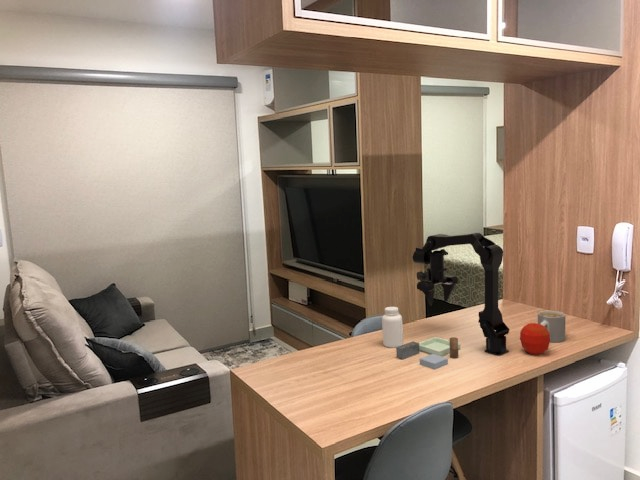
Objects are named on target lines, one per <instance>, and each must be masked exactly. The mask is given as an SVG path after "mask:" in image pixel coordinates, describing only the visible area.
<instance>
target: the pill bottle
mask: <svg viewBox="0 0 640 480" xmlns="http://www.w3.org/2000/svg"><path fill="white" fill-rule="evenodd" d="M381 323H382V324H381V326H382V344H383V346H384V347H386V348H391V349H394V348H396V347H398V346H401V345H404V331H403V316H402V315H401V314H400V313H399V307H398V306H387V307H384V315H382V317H381Z"/></svg>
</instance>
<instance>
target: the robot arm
mask: <svg viewBox="0 0 640 480" xmlns="http://www.w3.org/2000/svg"><path fill="white" fill-rule="evenodd" d="M458 245H459V246H461V245H471V246H472V248H473V250H474V253H476V254H477V256H479V260H480V264H481V266H482V268H483V270H484V271H483V272H484V279H483V280H484V308H483V310H481V311H479V312H478V324H479V327H480V329H481V331H482V334H483V337H484V338H485V349H483V350H484V351H483V352H484V353H488V354H492V355H496V356H501V355H503V354H506V353H509V352H510V350H509V349H507V336H506V335H509V332H510V329H509V327H508V325H507V324H506V323H505V322H504V320H503V314H502V312H501V309H500V308H499V269H500V267H501V265H502V262H503V257H504V249H503V248H502V247H501V246H500V245H498V244H496V243H495V242H494V241H492V240H490V239H489V238H487V237H485V236H484V235H483V234H482V233H480V232H473V233H467V234H466V233H464V234H456V235H448V234H444V233H437V234H433V235H428V236H427V238H426V241H425V242H424V244H423V247H420V246H417V247H415V251H414V252H413V254H412V261H413V263H414V264H419V265H429V267H428V268H427V269H426V272H423V271H422V270H421V271H420V270H419V271H418V272H416V279H417V281H418V282H417V283H416V290H418V291H420V292H422V293H423V295H424V296H425V298H426V300H427V304H428V305H429V306H430V307H431V306H433V303H434V298H435V297H434V296H435V287H436V286H439V285H440V286H442V289H443V290H442V291H443V299H444V302H448V301H449V299H450V295H451V293H452V292H453V289H454V288H455V286H457V285H456V284H458V283H459V279H458V277H457V276H456V275H450V274H446V275H445V271H447V269H448V268H447V267H445V256H448V255H449V253H448V251H446V250H445V248H446V247H449V246H458ZM439 249H440V250H439Z"/></svg>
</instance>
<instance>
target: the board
mask: <svg viewBox="0 0 640 480" xmlns="http://www.w3.org/2000/svg"><path fill="white" fill-rule="evenodd" d="M418 361H419V365H421V366H423V367H427V368H430V369H432V370H437V369H440V368H442V367H446V366H448V365H449V359H448V358H447V357H445V356H442V357H441V356H438V355H435V354H427V355H426V356H423V357H420V358H419V360H418Z"/></svg>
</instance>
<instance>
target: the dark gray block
mask: <svg viewBox="0 0 640 480" xmlns="http://www.w3.org/2000/svg"><path fill="white" fill-rule="evenodd" d="M395 351H396V358H397V359H400V360H405V359H407V358H410V357H413V356H416V355H419V354H420V351H419V342H417V341H415V340H414V341H411V342H408V343H405V344H404V343H403V345H401V346H398V347H396V350H395Z"/></svg>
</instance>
